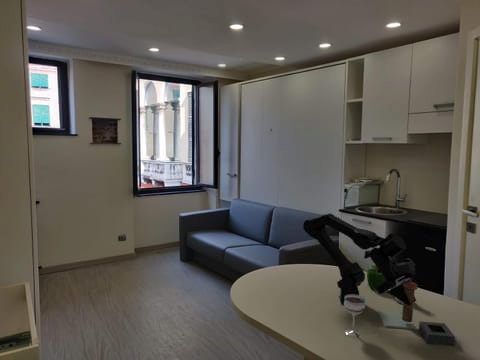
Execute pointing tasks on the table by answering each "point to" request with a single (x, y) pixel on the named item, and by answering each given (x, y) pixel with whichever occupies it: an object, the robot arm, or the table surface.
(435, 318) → the table surface
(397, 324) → the green pad
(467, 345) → the table surface
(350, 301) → the wineglass
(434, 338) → the eye block
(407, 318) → the walnut peg
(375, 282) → the bell pepper
